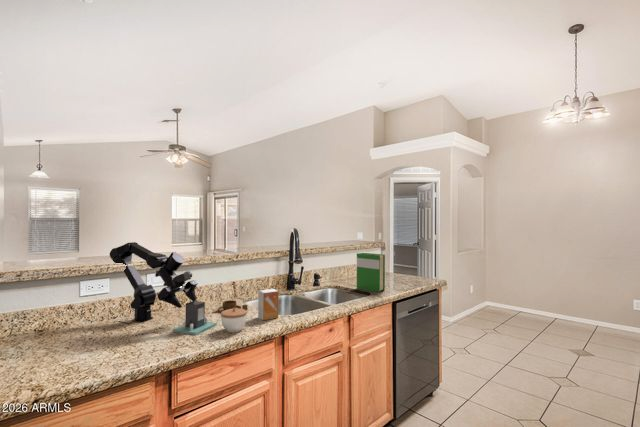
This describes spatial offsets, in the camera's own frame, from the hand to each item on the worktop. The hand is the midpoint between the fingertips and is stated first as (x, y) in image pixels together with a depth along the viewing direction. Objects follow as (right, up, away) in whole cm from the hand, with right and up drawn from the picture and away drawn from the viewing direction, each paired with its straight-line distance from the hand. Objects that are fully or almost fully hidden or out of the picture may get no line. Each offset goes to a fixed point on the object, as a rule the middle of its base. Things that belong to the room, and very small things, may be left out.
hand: (188, 304), depth 142 cm
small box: (+33, -10, +14) cm, 37 cm away
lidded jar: (+21, -10, -3) cm, 23 cm away
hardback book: (+92, -12, +77) cm, 121 cm away
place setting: (+12, -11, +23) cm, 28 cm away
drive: (+3, -9, -1) cm, 10 cm away
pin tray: (+3, -10, -1) cm, 11 cm away
